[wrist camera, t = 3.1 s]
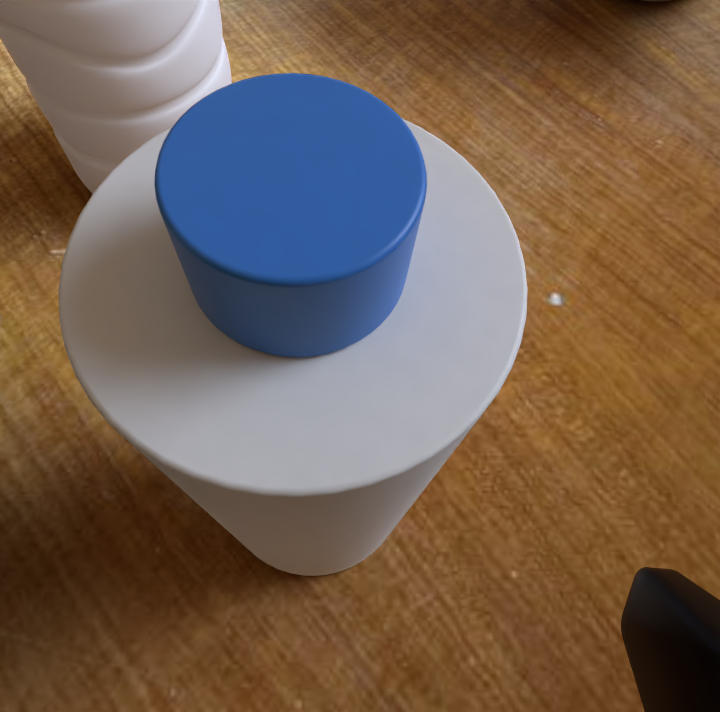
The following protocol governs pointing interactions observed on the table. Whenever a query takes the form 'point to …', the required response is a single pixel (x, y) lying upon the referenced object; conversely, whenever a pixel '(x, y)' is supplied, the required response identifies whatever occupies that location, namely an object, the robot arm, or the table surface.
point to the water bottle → (114, 70)
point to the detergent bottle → (294, 311)
